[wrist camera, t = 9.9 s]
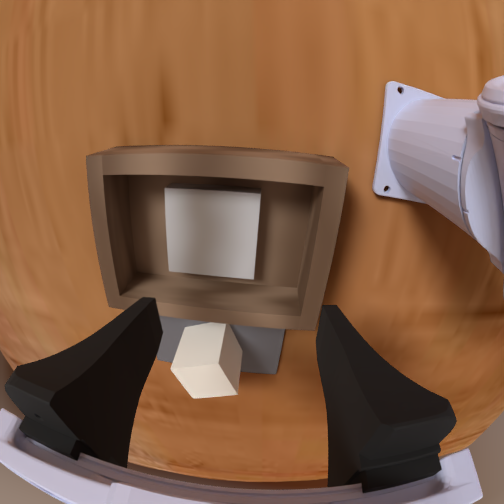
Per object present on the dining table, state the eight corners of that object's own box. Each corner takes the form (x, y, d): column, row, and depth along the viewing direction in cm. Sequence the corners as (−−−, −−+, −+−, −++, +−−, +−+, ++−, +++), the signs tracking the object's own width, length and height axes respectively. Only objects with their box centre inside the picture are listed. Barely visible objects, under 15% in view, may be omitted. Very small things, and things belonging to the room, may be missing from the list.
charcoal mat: (287, 310, 23) (288, 312, 23) (276, 372, 27) (275, 374, 27) (147, 295, 24) (145, 297, 23) (158, 357, 27) (157, 359, 27)
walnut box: (333, 157, 18) (349, 168, 14) (309, 297, 23) (314, 330, 19) (116, 146, 18) (86, 156, 14) (129, 278, 23) (108, 306, 19)
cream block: (227, 319, 24) (218, 363, 19) (242, 351, 25) (237, 394, 21) (185, 327, 24) (170, 369, 20) (203, 357, 26) (193, 398, 22)
